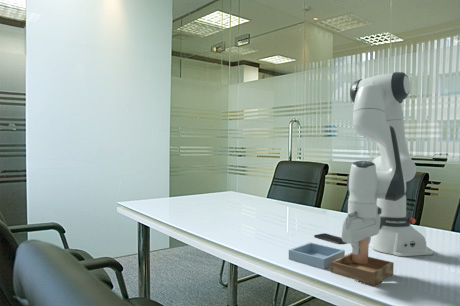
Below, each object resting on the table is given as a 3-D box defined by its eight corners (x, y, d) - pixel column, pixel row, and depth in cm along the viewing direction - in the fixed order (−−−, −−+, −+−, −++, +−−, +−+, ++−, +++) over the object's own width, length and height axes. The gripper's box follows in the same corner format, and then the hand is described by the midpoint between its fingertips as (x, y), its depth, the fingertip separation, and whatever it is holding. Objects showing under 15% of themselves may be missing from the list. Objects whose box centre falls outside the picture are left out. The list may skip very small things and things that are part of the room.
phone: (324, 233, 167) (350, 240, 155) (324, 235, 167) (350, 242, 155) (313, 235, 163) (339, 242, 151) (313, 237, 163) (339, 245, 151)
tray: (351, 263, 126) (351, 252, 126) (393, 274, 116) (393, 262, 116) (331, 273, 116) (331, 261, 116) (374, 286, 106) (375, 273, 106)
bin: (310, 252, 139) (310, 242, 139) (344, 261, 129) (344, 250, 129) (288, 260, 129) (288, 249, 129) (323, 271, 119) (324, 259, 119)
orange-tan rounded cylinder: (364, 258, 119) (365, 235, 118) (370, 263, 114) (371, 239, 113) (350, 258, 119) (350, 234, 118) (354, 263, 114) (355, 238, 113)
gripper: (356, 215, 106) (354, 261, 106) (384, 208, 120) (382, 248, 121) (337, 212, 111) (335, 255, 111) (366, 205, 125) (365, 244, 125)
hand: (360, 251), depth 116 cm, fingers closed on orange-tan rounded cylinder, 5 cm apart
